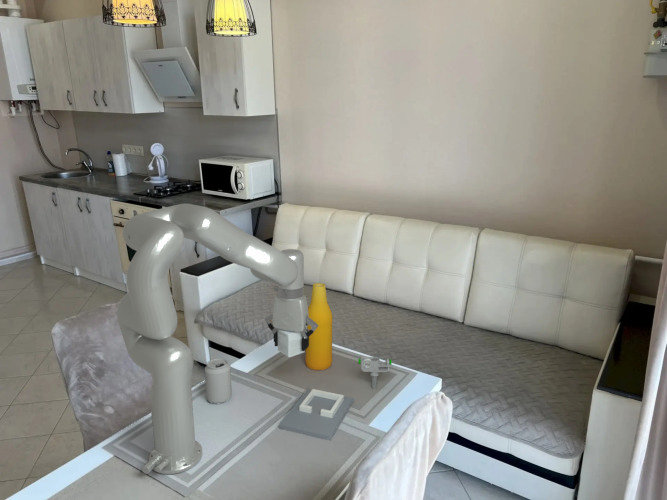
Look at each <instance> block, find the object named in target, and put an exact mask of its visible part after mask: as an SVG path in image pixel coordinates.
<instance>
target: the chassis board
mask: <svg viewBox="0 0 667 500" xmlns="http://www.w3.org/2000/svg"><path fill="white" fill-rule="evenodd" d="M354 402H355V398H354V397H350V396H346V395H344V394H339V393H333V392H330V391H325V390H320V389H316V388H312V389H311V388H307V389H306V390H305V392H304V393H303V394H302V395H301V397H300V398H299V399H298V400H297V402H296V403H295V404H294V405H293V406H292V408H290V410H289V411H288V413H287V414H286V415H285V417H284V418H283V419H282V420H281V422H280V423H279V424H278V429H280V430H285V431H289V432H293V433H298V434H301V435H305V436H310V437H315V438H318V439H322V440H327V441H330V442H331V441H332V439H333V438H334V436H335V434H336V433H337V431H338V429H339V427H340V426H341V424H342V422H343V420H344V419H345V418H346V416H347V414H348V412H349V410H350V408H351V407H352V406H353V403H354Z"/></svg>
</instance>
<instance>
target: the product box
mask: <svg viewBox="0 0 667 500" xmlns="http://www.w3.org/2000/svg"><path fill="white" fill-rule="evenodd" d="M304 331H305V330H304ZM302 338H303V336H302V334H301V333H300V332H293V331H286V330H280V329H278V346H277V351H278V352H280V353H281V354H282V355H284V356H286V357H287V358H292V357H295V356H297V355H301V354H303V353H306V350H305V351H302Z"/></svg>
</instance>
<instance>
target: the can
mask: <svg viewBox="0 0 667 500" xmlns="http://www.w3.org/2000/svg"><path fill="white" fill-rule="evenodd" d="M204 377H205V378H204V380H205V396H206V400H207V401H208V402H210V403H211V402H212V403H211V404H213V403H216V404H215V405H218V404H217V403H221V404H224V403H223V402H225V403H226V402H228V401H229V400H230V399H231V398H232V395H233V393H232V392H233V391H232V389H233V388H232V369H231V364H230V363H229V361H228V359H225V358H221V357H220V358H213V359H210V360H208V361H207V363H206V366H205V367H204ZM227 400H228V401H227Z"/></svg>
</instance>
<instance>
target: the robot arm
mask: <svg viewBox="0 0 667 500" xmlns="http://www.w3.org/2000/svg"><path fill="white" fill-rule="evenodd" d="M122 238H123V241H124V242H125V244H126V245H127V246H128V247H129V248H130V249H132V251H133V250H134V251H136V252H135V254H134V255H133V257H132V258H131V261H130V262H129V265H128V267H127V271H126V275H125V276H126V286H127V291H128V292H127V293H126V294H125V295H123V296H122V298H121V299H120V301H119V303H118V306H117V311H116V316H117V321H118V326H119V329H120V332H121V335H122V339H123V342H124V345H125V348H126V350H127V353H128V355H129V357H130V359H131V360H132V362H133V363H134V364H136V365H137V366H138V367H140V368H142V369H143V370H145V371H146V372H147V373H149V374H150V375H151V377H152V384H151V387H150V391H149V403H150V410H151V412H150V413H151V420H152V422H151V423H152V432H153V443H154V449H153V450H152V451H151V452H150V454H149V457H148V462H146V463H145V464H144V465H143V466H142V467H141V470H142V472H143V473H144V474H146V475H147V474H149V473H150V472H151V471H152V470H153V471H154V472H156V473H159V474H162V475H174V474H175V475H176V474H180V473H183V472H186V471H187V470H190V469H192V468H193V467H194V466H196V465H197V464H198V463H199V462H200V460H201V459H202V457H203V447H202V445H201V443H199V442H198V440H196V435H195V434H196V433H195V419H194V404H193V393H192V392H193V390H192V379H193V378H192V377H193V370H194V368H193V367H194V363H195V361H194V355H193V352H192V350H191V349H190V347H189V346H188V345H187V344H186V343H184V342H183V341H181V340H180V339H178V338H175V337H174V336H173V335H174V334H175V332H176V330H177V327H178V313H177V309H176V306H175V303H174V300H173V295H172V292H171V288H170V282H169V270H170V268H171V266H172V264H173V262H174V260H175V259H176V258H177V257H178V255H179V254H180V252H181V251H182V249H183V246H184V242H185V239H187V240H191V241H193V242H196V243H197V244H199V245H201V246H202V247H204V248H206V249H208V250H210V251H212V252H213V253H215V254H217V255H218V256H220V257H221V258H223V259H224V260H226V261H228V262H230V263H233V264H235V265H238V266H240V267H244V268H247V269H249V270H250V272H251V274H252V275H253V276H254V277H256V278H257V279H259V280H263V281H266V282H269V283H270V284H271V283H272V284H275V285H274V287H273V291H276V292H277V293H276V295H275V296H274V300H273V305H272V306H273V309H272V313H271V314H270V315H268V316H266V317H265V318H264V320H265V323H266V324H267V327H268V328H269V329H270V331H271V333H272V334H273V343H274V347H278V329H280V330H286V331H293V332H300V333H301V334H302V336H303V338H302V351H305V352H306V349H307V348H308V347H309V336H310V335H311V334H313V332H314V331H315V330H316V329H317V327H318V324H317V323H315V322H314V321H313V320H312V319H310V318H309V316H308V307H309V305H308V301H307V297H306V295H305V293H304V292H305V289H304V288H305V287H304V285H305V273H304V272H305V270H304V269H305V267H304V266H305V259H304V258H305V255H304V253H303V252H302V251H301V250H299V249H293V248H288V249H283V250H279V248H278V249H277V248H276V247H274V246H272V245H270V244H269V243H267V242H265V241H263V240H261V239H259V238H258V237H256V236H254V235H252V234H249V233H248V232H246V231H245V230H243V229H242V228H240V227H239V226H237V224H235V223H233V222H231V221H230V220H228V219H227V218H225V217H224V216H222V214H220V213H218V212H217V211H215V210H213V208H209V207H207V206H202V205H197V204H191V203H180V204H176V205H171V206H170V205H169V206H166V207H163V208H158V209H154V210H150V211H146V212H142V213H138V214H136V215H133V216H132V217H130V218H129V219H128V220H127V221H126V223H125V224H124V226H123V228H122ZM308 324H309V325H310V326H311V329H310V330H308V328H307V326H308ZM304 330H305V331H304Z"/></svg>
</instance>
